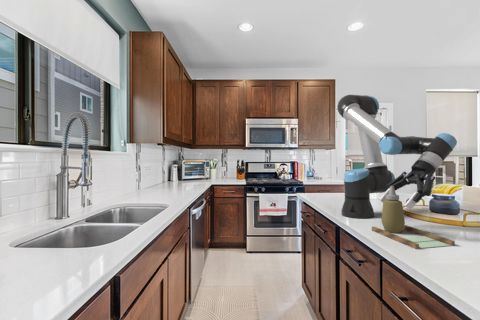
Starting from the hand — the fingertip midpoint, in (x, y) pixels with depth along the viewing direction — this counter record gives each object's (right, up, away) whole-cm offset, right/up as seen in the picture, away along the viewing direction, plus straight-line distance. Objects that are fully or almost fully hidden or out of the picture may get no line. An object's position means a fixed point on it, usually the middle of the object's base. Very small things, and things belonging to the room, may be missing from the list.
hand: (394, 204), depth 103 cm
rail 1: (-6, -11, -8) cm, 15 cm away
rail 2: (+8, -10, -7) cm, 14 cm away
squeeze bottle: (0, -11, 0) cm, 11 cm away
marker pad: (+2, -11, -14) cm, 17 cm away
